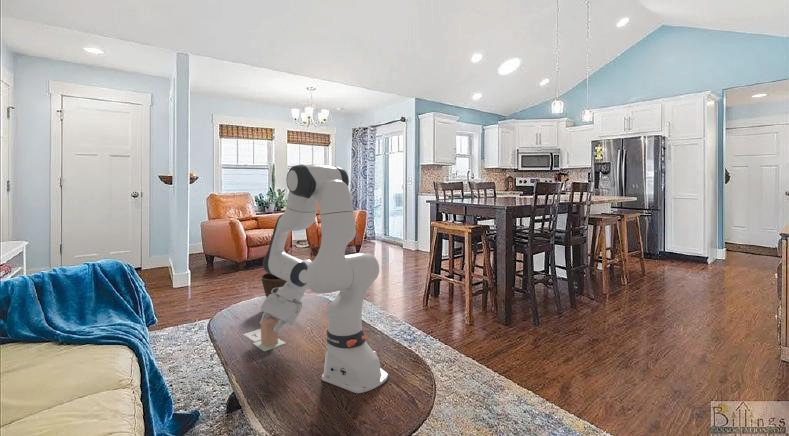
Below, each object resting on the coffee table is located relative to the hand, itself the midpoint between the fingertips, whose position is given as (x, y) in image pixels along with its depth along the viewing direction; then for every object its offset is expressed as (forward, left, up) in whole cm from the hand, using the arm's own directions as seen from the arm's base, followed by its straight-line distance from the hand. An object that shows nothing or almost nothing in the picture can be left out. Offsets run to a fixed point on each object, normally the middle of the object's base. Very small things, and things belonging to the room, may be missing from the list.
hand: (267, 327), depth 146 cm
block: (0, -1, -6) cm, 6 cm away
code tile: (+11, -3, -7) cm, 13 cm away
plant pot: (+35, -25, -7) cm, 43 cm away
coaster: (0, -1, -7) cm, 7 cm away
